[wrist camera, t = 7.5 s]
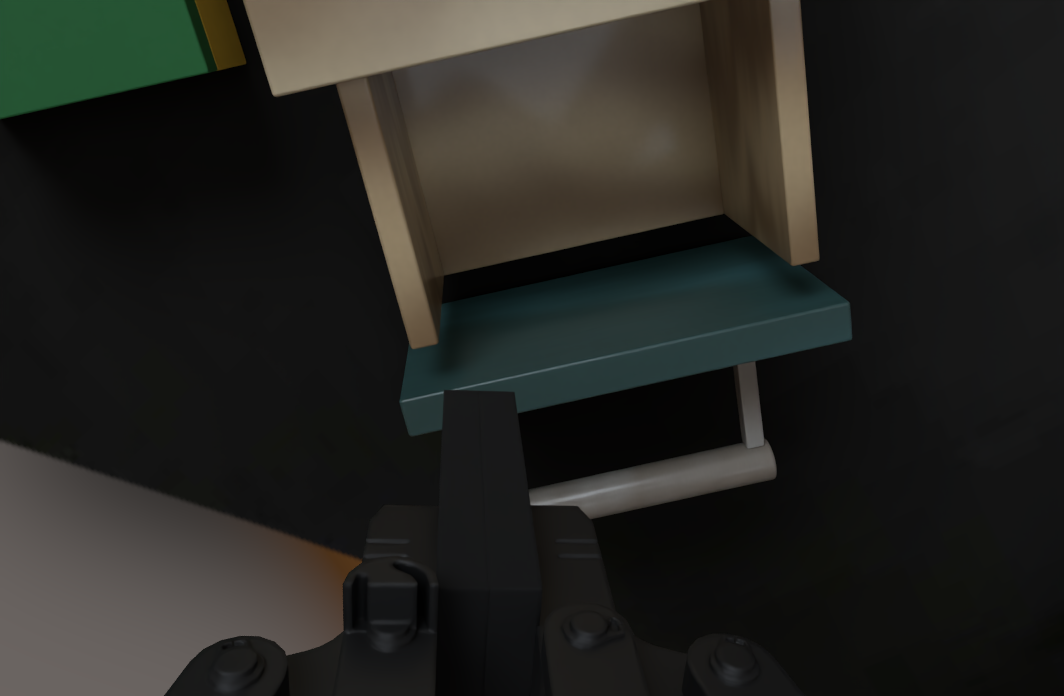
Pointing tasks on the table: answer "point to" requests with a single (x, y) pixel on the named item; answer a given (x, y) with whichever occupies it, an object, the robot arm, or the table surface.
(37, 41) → the sponge
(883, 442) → the table surface
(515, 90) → the drawer
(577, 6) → the cabinet
